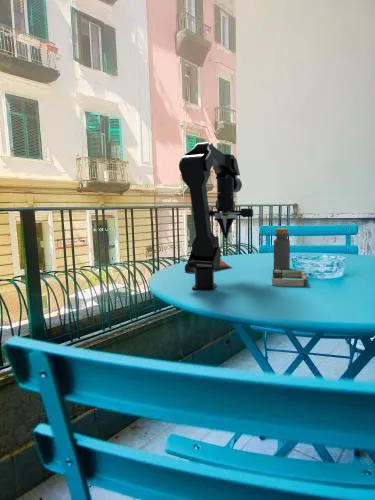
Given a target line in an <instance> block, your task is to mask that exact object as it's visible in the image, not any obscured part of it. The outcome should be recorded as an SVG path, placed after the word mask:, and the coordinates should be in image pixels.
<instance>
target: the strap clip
mask: <svg viewBox="0 0 375 500" xmlns="http://www.w3.org/2000/svg"><path fill="white" fill-rule="evenodd" d="M274 270H281V273H274ZM272 278H273V279H283V277H282V269H274V268H273V269H272V276H271V279H272Z"/></svg>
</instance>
